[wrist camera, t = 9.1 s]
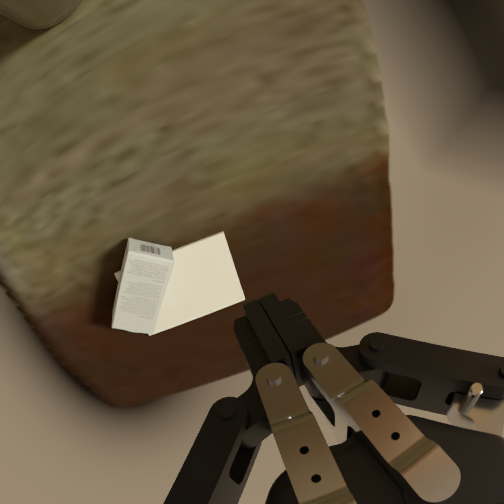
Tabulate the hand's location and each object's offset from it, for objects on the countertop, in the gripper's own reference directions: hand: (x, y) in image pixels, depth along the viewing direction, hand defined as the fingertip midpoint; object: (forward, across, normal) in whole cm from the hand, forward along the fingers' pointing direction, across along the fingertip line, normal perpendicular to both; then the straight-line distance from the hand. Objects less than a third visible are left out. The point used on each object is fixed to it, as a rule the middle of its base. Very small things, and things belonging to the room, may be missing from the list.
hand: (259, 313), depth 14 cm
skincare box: (+26, +7, +8) cm, 28 cm away
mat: (+28, +5, +16) cm, 33 cm away
